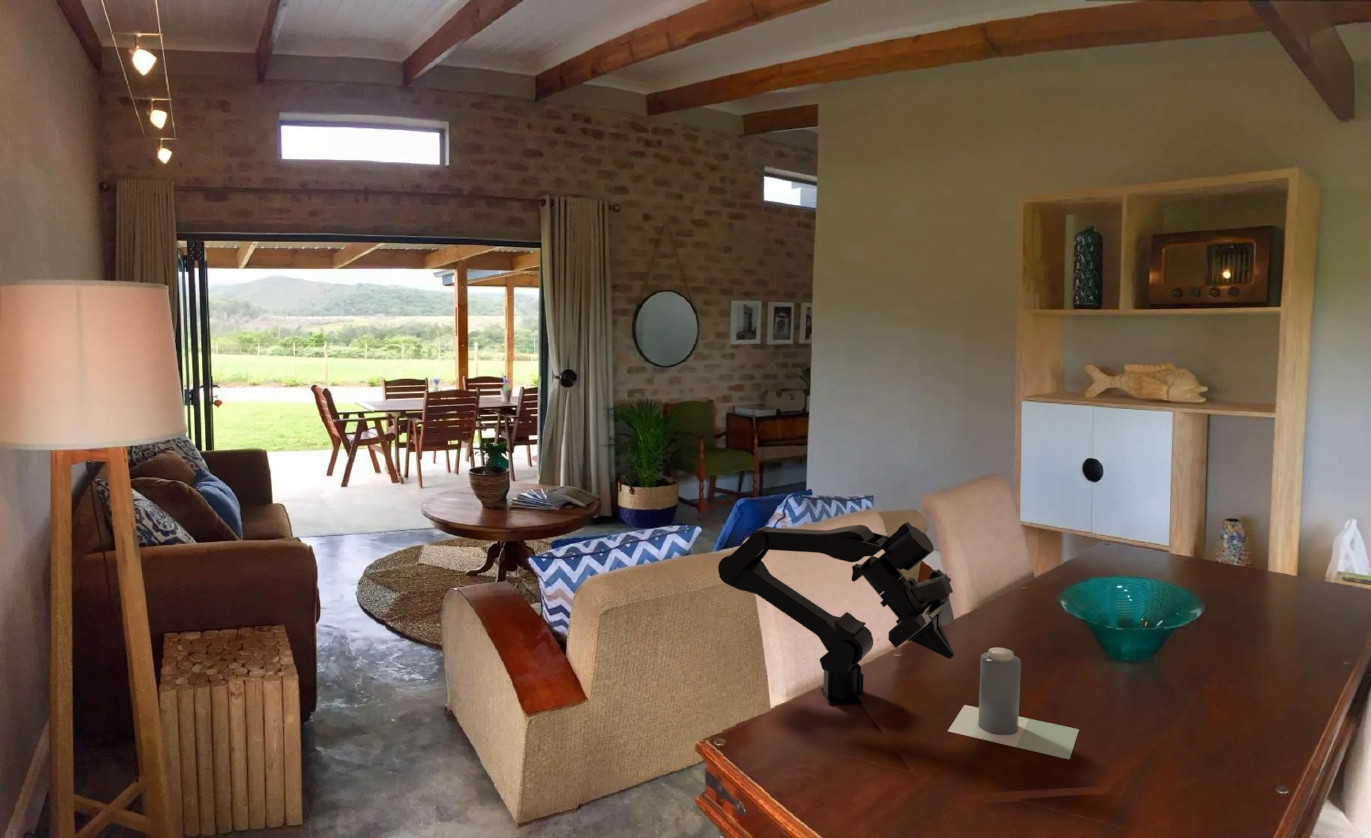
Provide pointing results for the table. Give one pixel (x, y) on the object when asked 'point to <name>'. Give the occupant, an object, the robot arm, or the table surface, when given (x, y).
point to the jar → (999, 691)
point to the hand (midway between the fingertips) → (952, 657)
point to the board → (1020, 734)
